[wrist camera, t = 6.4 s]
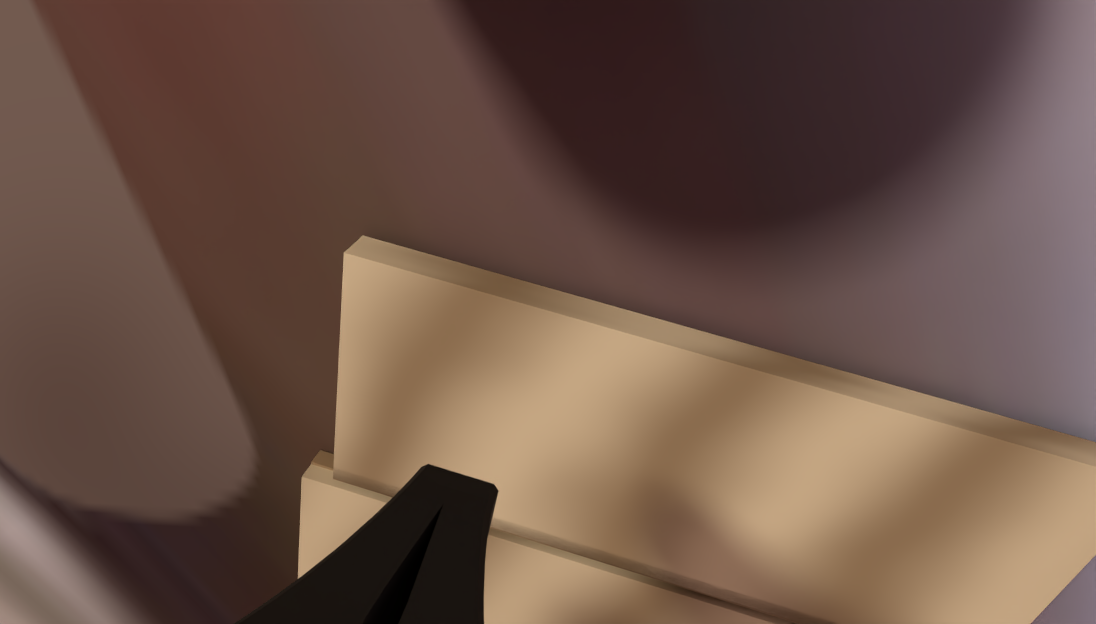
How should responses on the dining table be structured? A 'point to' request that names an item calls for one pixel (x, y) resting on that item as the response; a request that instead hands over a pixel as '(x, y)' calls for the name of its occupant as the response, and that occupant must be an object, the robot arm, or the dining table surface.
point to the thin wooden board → (520, 570)
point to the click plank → (703, 452)
